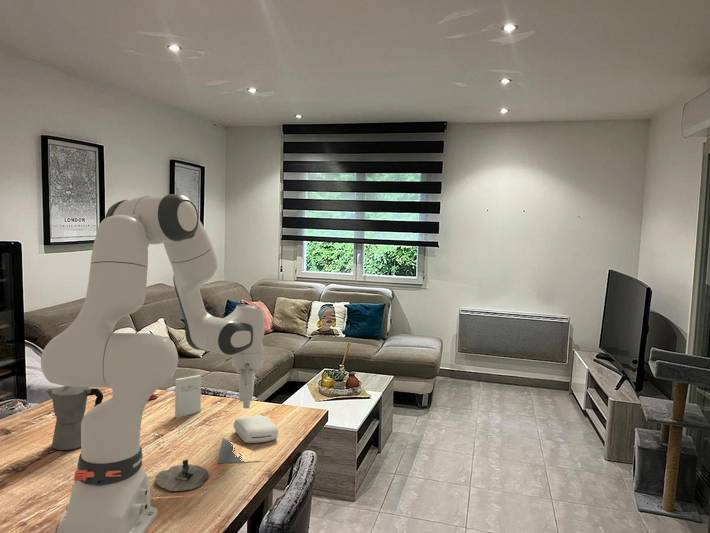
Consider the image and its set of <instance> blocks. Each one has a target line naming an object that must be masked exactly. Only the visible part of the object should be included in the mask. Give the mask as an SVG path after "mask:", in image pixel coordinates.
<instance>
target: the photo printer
mask: <svg viewBox="0 0 710 533" xmlns="http://www.w3.org/2000/svg"><path fill="white" fill-rule="evenodd" d="M233 429H234V431H235V433H237V435H238V436H239V437H240V438H241V440H243V442H244V443H246V444H258V443H267V442H271V441H274V440H276V439H278V437H279V430H278V426H277V425H276V424H275V423H274V422H273V421H272V420H271V419H270V418H268V417H267V416H266V415H253V416H252V415H251V416H243V417H239V418H236V419H235V420H234V422H233Z"/></svg>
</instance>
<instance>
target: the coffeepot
mask: <svg viewBox="0 0 710 533" xmlns="http://www.w3.org/2000/svg"><path fill="white" fill-rule="evenodd" d="M45 393H47V394H48V395H49V396H50V398H51V401H52V408H53V412H54V417H56V421H55V426H54V431H53V437H52V442H51V448H53V449H54V450H59V451H69V450H75V449H79V448H81V423H82V420H83V417H84V416H85V414H86V409H87V408H86V407H87V402H88V401H87V400H88V397H91V396H95V397H96V398H95V400H94V406H93V407H95V406H96V405H98V404H100V403H102V402H103V399H104V394H103V392H102V391H101V390H100V389H99V388H98V387H81V388H75V387H68V386H63V385H62V386H60V387H59V386H58V387H52V388H49V389H47V390H45Z"/></svg>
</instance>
